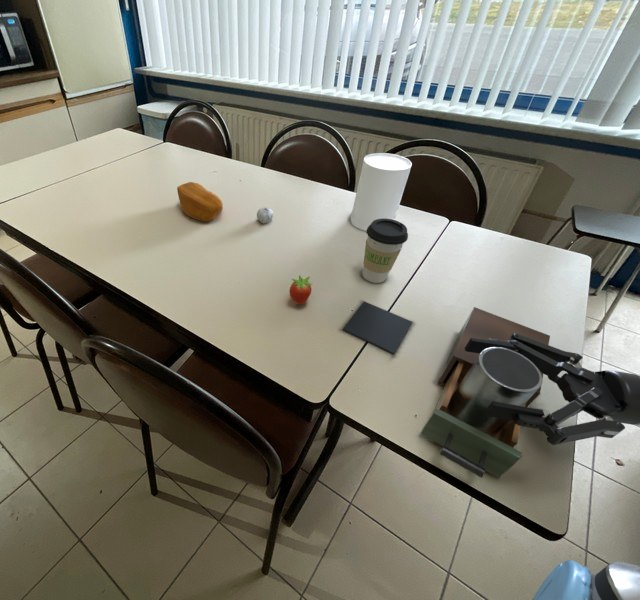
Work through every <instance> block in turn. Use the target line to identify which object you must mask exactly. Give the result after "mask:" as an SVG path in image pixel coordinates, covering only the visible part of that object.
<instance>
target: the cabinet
mask: <svg viewBox="0 0 640 600" xmlns="http://www.w3.org/2000/svg"><path fill="white" fill-rule="evenodd" d="M513 333H517V334H520V335H522V336H525V337H528V338H530V339H533V340H536V341H539V342H541V343H544V344H547V345H549V344H550V339H551V335H549V334H547V333H544V332H542V331H539V330H537V329H533V328H531V327H528V326H526V325H523V324H521V323H518V322H515V321H512V320H510V319H507V318H504V317H502V316H500V315H496V314H494V313H491V312H489V311H487V310H483V309H481V308H478V307H475V306H474V307H473V308H472V309H471V311H470V313H469V314H468V317H467V318H466V320H465V322H464V323H463V325H462V327H461V329H460V330H459V332H458V334H457V336H456V339H455V341H454V344H453V346H452V347H451V350H450V353H449V354H448V357H447V360H446V362H445V364H444V366H443V369H442V372H441V373H440V375H439V377H438V380H437V382H436V383H437V384H438V385H440V386H442V387H443V388H444V387H445V385H446V382H447V380H448V377H449V376H450V374H451V372H452V371H453V369H454V368H455V366H456V364H457V363H458V361H460V362H462V363H464V364H466V365H469V366H471V367H472V365H473V364H474V362H475V361H476V359H477V358H478V356H479V355H480V354H479V353H473V352H466V351H465V346H466V345H467V343H468V342H469V340H470V338H477V339H484V340H489V339H496V340H503V341H508V339H509V338H510V337H511V335H512V334H513ZM549 346H550V345H549ZM515 351H518V350H515ZM540 373H541V375H542V379H544V374H543V373H542V372H540ZM541 390H542V386H541V387H540V388H539V389H538V390H537V391H536V392H535V393H534V394H533V395H532V397H531V398H530V399H529V400H528V401H527V402H526V404H525V407H530V406H531V404H532V403H533V402H534V401H535V400H537V398H538V397H539V396H540V395H541Z"/></svg>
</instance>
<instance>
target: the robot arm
mask: <svg viewBox="0 0 640 600" xmlns="http://www.w3.org/2000/svg"><path fill="white" fill-rule="evenodd" d="M491 347H500V348H506V349H509V350H512V351H515V350H518V351H515V352H517V353H519V354H521V355H523V356H524V357H526V358H527V359H529V360H530V361H531V362H532V363H533V364H534V365H535V366H536V367H537V368H538V369H539V371H540V372H542V373H543V375H546V376H547V379H548V380H549V381H551V382H553V383H555V384H556V385H557V388H558V389H559V390H560V391H561V393H562V397H563V399H564V401H566V402H568V403H567V404H565V405H563V406H561V407H560V408H558V409H556V410H555V411H552V412H549V413H548V414H547V415H546V416H545V412H544V410H543V409H541V408H535V407H530V406H528V407H524V406H518V405H512V404H506V403H500V402H494V401H492V403H491V404H490V405H489V406H488V408H487V409H486V410H485V411H484V412H485V415H486V416H490V417H495V418H501V419H506V420H512V421H514V422H515V424H516V425H519V426H521V427H525V428H529V429H535V430H538V431H540V432H541V433H543V434H544V435H545V436H546V441H547V442H548V443H549V444H550V445H552V446H558V445H563V444H567V443H572V442H577V441H582V440H586V439H587V440H588V439H591V438H597V437H599V438H606V439H613V438H615V436H617V435H619V434H620V433H621V432H622V431H624V430H625V429H626V426H625V425H624V424H626V425H633V426H639V427H640V374H636V373H630V372H625V371H618V370H610V369H608V370H600V371H592V370H589V369H587V368H585V367H583V366H582V364H581V362H580V361H581V360H582V359H583V356H582V354H579V353H576V352H571V351H565V350H563V349H560V348H558V347H554V346H552V345H547V344H544V343H541V342H539V341H536V340H533V339H530V338H528V337H525V336H522V335H520V334H517V333H513V334H512V335H511V337H510V338H509V339H508V341H503V340H496V339H489V340H484V339H477V338H470V340H469V342H468V343H467V345H466V346H465V351H466V352H473V353H479V354H480V353H481V352H482V351H483V350H485V349H487V348H491ZM561 372H566V373H564V374H562V375H561V376H559V375H560V373H561ZM582 412H585V413H587V414H588V415H590V416H591V417H593V418H596V419H597V420H592V421H587V422H582V423H577V424H573V425H566V426H562V427H559V426H558V425H560V424H562V423H563V422H565V421H566V420H568V419H570V418H572V417H574V416H576V415H578V414H579V413H582ZM531 600H640V565H636V564H632V563H628V562H624V561H620V560H614V561H612V562H610V563H608V564H607V565H606V566H605V567H604V568H603V569H601V570H599V572H597V573H595V574H593V573H591V570H590V569H589V568H588V567H587V566H586V565H582V564H580V563H578V562H577V561H575V560H572V559H571V560H569V559H568V560H565V561H564V562H562V563H560V564H558V565H556V567H555V568H554V569H552V571H551V572H550V573H549V574H548V575H547V576H546V578H545V579H544V580H543V582H542V583H541V585H540V586H539V588H538V590H537V591H536V592H535V594H534V595H533V597H532V599H531Z"/></svg>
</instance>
